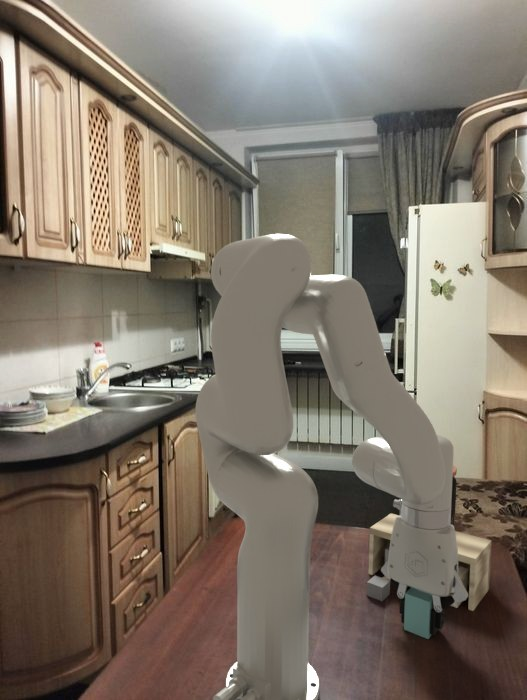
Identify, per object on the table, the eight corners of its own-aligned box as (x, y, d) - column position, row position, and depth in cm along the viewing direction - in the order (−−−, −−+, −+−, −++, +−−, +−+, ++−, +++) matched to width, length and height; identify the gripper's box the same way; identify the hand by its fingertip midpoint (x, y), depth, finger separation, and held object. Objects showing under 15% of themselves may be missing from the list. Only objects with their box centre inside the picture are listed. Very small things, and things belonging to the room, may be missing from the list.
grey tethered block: (387, 603, 95) (388, 575, 94) (361, 593, 98) (362, 566, 97) (419, 572, 105) (420, 547, 105) (395, 564, 109) (396, 540, 108)
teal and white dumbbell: (431, 640, 84) (432, 603, 84) (400, 628, 87) (402, 592, 87) (466, 595, 97) (468, 563, 97) (439, 586, 100) (440, 555, 100)
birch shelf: (473, 611, 92) (475, 558, 91) (368, 573, 105) (369, 527, 104) (489, 589, 99) (491, 540, 98) (389, 556, 112) (390, 513, 111)
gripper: (365, 508, 88) (362, 616, 89) (472, 537, 77) (466, 658, 79) (386, 495, 94) (383, 597, 95) (488, 520, 83) (482, 634, 85)
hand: (421, 624), depth 87 cm, fingers closed on teal and white dumbbell, 4 cm apart
